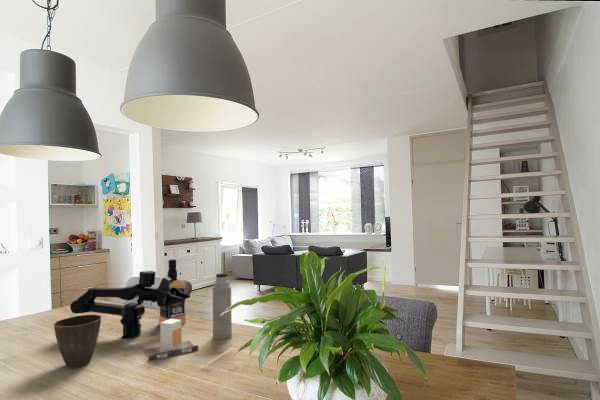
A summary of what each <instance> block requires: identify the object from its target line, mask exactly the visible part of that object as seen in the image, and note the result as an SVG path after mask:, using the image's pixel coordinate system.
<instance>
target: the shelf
mask: <svg viewBox="0 0 600 400" xmlns="http://www.w3.org/2000/svg"><path fill="white" fill-rule="evenodd" d="M197 351H199V345H198V344H195V345H194V344H193V343H192V342H191V341H190V340H187V341H182V348H180V349H175V350H171V351H166V352H161V346H156V347H151V348H147V349H143V353H144V354H145V356H146V358H147V360H148V361H149V362H151V361H157V360H161V359H165V358H170V357H173V356H179V355H184V354H188V353H192V352H197Z"/></svg>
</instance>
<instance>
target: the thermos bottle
mask: <svg viewBox="0 0 600 400" xmlns="http://www.w3.org/2000/svg"><path fill="white" fill-rule="evenodd" d="M215 277H216V278H215V281H213V282H214V284H213V287H212V337H213V339H214V340H226V339H232V338H233V337H232V336H233V333H232V332H233V331H232V326H233V325H232V324H233V323H232V309H231V310H230V311H228V312H226V313H224V314H223V315H221V314H222V313H223V312H224V311H225V310H226V309H227V308H229V307H230V306H231V307H232V286H231V285H230V283H231V282H230V281H229V280H228V273H217V274H216V275H215ZM220 315H221V316H220Z"/></svg>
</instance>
